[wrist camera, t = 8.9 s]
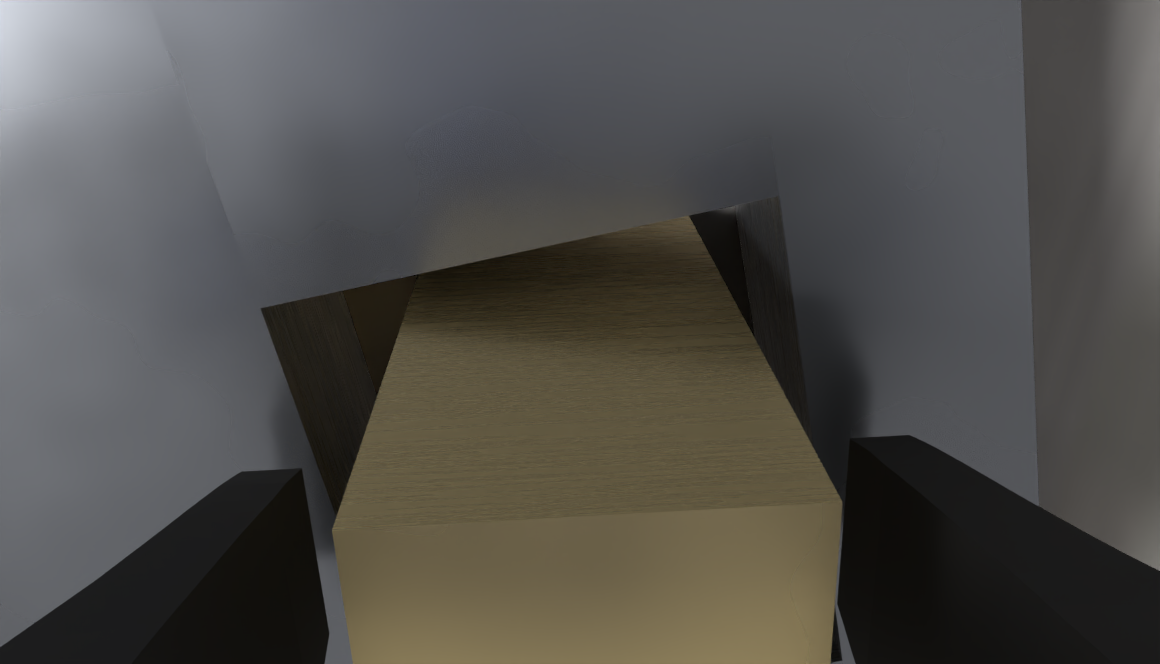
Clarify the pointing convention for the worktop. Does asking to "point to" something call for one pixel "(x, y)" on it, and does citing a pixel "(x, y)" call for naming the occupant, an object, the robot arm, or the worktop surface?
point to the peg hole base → (475, 227)
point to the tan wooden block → (586, 472)
